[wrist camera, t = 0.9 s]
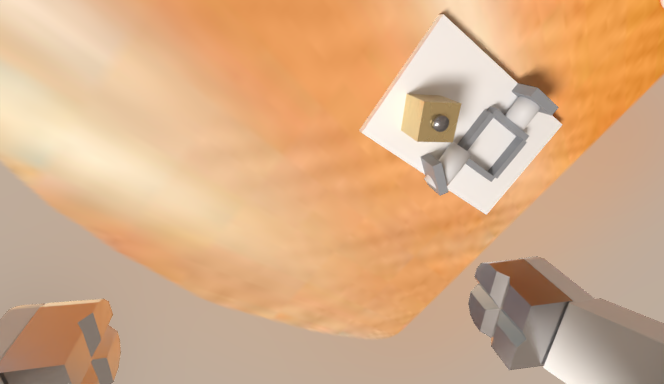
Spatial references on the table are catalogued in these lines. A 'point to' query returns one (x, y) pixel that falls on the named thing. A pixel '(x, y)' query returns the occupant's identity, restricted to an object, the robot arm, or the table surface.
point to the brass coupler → (430, 118)
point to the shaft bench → (465, 118)
